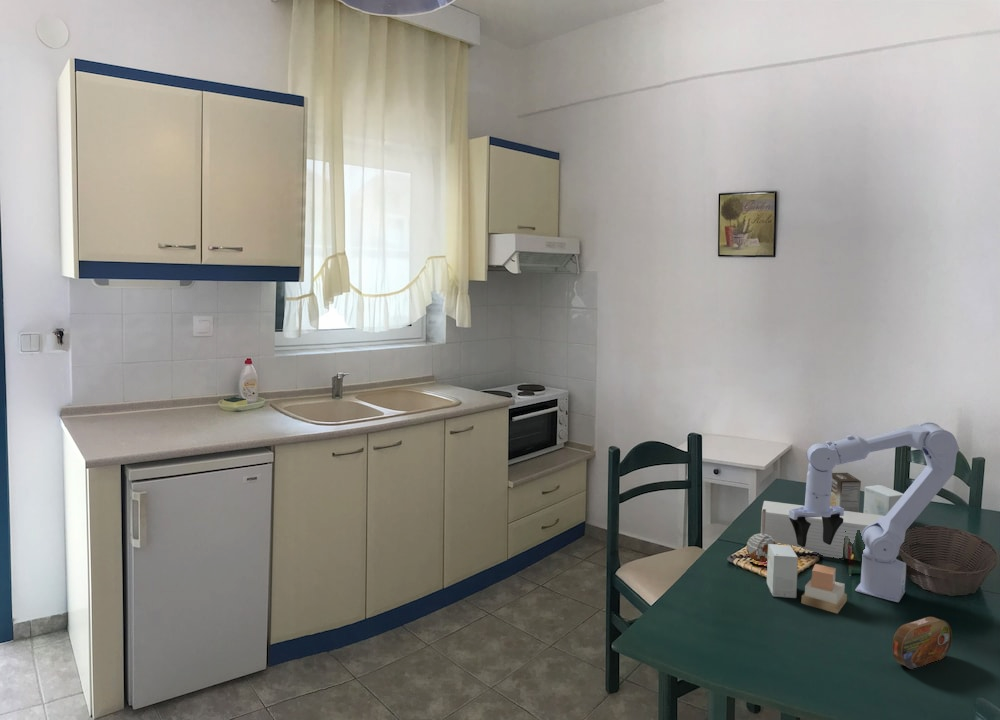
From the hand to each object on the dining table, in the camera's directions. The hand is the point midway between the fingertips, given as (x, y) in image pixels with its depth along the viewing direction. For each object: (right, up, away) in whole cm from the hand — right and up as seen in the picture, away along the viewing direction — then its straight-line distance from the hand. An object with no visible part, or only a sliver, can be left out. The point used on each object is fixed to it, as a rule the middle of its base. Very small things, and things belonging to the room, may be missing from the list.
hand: (814, 544), depth 171 cm
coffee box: (+28, -6, +42) cm, 51 cm away
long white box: (+13, -8, +24) cm, 28 cm away
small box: (-9, -11, -3) cm, 15 cm away
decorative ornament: (-8, -9, +15) cm, 19 cm away
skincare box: (+43, -5, +46) cm, 63 cm away
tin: (+6, -15, -34) cm, 37 cm away
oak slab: (-2, -12, -8) cm, 15 cm away
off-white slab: (-1, -10, -9) cm, 13 cm away
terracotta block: (-2, -7, -9) cm, 12 cm away
